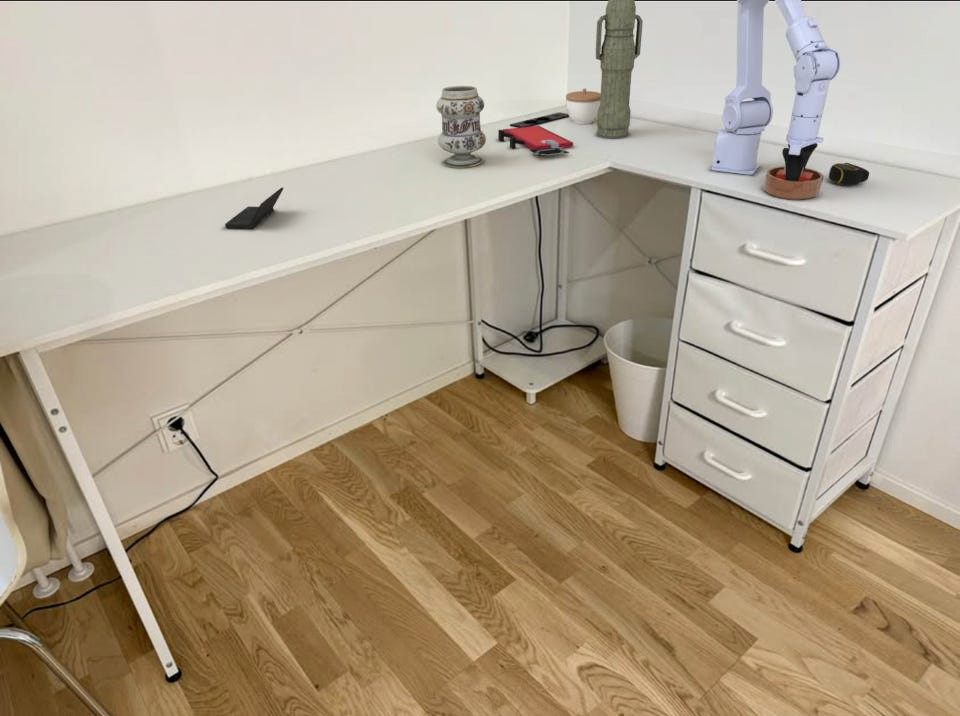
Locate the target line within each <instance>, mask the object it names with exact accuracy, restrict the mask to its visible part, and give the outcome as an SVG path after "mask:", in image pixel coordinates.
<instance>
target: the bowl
mask: <svg viewBox="0 0 960 716" xmlns="http://www.w3.org/2000/svg"><path fill="white" fill-rule="evenodd" d="M784 168H785V165H784V166H775V167H771V168H768V169H767V171H765V178H764V183H763V190H764V191H765V192H767V193H768V195H771V196H773V197H776V198H779V199H785V200H793V201H795V200H796V201H798V200H799V201H800V200H809V199H811V198H815V197H817V196H819V195H820V193H821V191H822V185H823V181H824V174H823V173H822V172H820V171H818V170H815V169H814V168H813V169H812V168H808V167H805V170H804V172H809V173H814V174H813V178H812V181H789V180H783V179H779V178H776V174H777V172H778V171H779V170H780V169H783V170H784Z"/></svg>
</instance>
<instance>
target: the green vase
mask: <svg viewBox="0 0 960 716" xmlns="http://www.w3.org/2000/svg"><path fill="white" fill-rule="evenodd" d="M636 10H637V6H636V1H635V0H608V1H607V3H606V6H605V14H603V15H602V16H600V17H599V19H597V22H596V35H595V60H599V61H600V65H599V66H600V67H599V68H600V71H601V79H600V80H601V81H600V82H601V83H600V93H601V97H600V106H599V109H598V116H597V118H596V126H597V132H596V135H597V137H599V138H601V139H606V140H618V139H619V140H620V139H624V138H627V137H628V136H629V127H630V126H631V114H632V113H631V112H632V110H631V107H630V99H631V86H632V85H631V84H632V72H633V69H634V68H635V60H636V59H637V58H638V57H639V56H640V55H641V48H642V47H641V46H642V36H643V35H642V34H643V23H644V22H643V21H644V20H643V19H642V17H641V16H640V15H638V14H636V12H637V11H636ZM603 22H604V30H605V31H604V37H603V42H602V33H603V32H602V30H603V28H602V27H603ZM635 25H636V33H635V34H634V29H635ZM634 38H635V39H634Z"/></svg>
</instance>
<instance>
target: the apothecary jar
mask: <svg viewBox="0 0 960 716" xmlns="http://www.w3.org/2000/svg"><path fill="white" fill-rule="evenodd" d="M435 108H436V110H437V112H438V113H439V114H441V133H440V134H439V136H438V137H437V144H438V146H439V147H440V148H441V149H442V150H443V151H444V152H447V153H450V154H453V155H450V156H449V157H447V158H445V159H444V160H443V165H444V166H446V167H449V168H453V169H454V168H455V169H456V168H457V169H466V168H473V167H477V166H479V165H481V164H482V163H483V159H482V157H480V156H479V155H478V156H477V155H475V154H472V153H474V152H476V151H479V150H480V149H482V148H483V147H484V146H485V145H486V143H487V137H486V134H485V133H484V132H483V130H482V129H481V112H482V111H483V110H484V108H485V102H484V99H483V98H482V97H481V96H480V95H479V92H478V89H477V87H476V86H472V85H453V86H446V87H443V88H442V90H441V96H440V98H439V99H438V100H437V101H436V105H435Z"/></svg>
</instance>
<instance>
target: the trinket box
mask: <svg viewBox="0 0 960 716" xmlns="http://www.w3.org/2000/svg"><path fill="white" fill-rule="evenodd" d="M600 97H601V92H598V91H592V90H591V91H589V90H587V88H582V91H580V90H579V91H572V92H569V93H566V95H565V100H566V101H565V103H566V104H565V107H566V112H567V115H568V117H569V119H571V120H572V122H573V123H574V124H578V125H588V124H592V123H594V121H595V120H597V116H598V109H599V106H600Z"/></svg>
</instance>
